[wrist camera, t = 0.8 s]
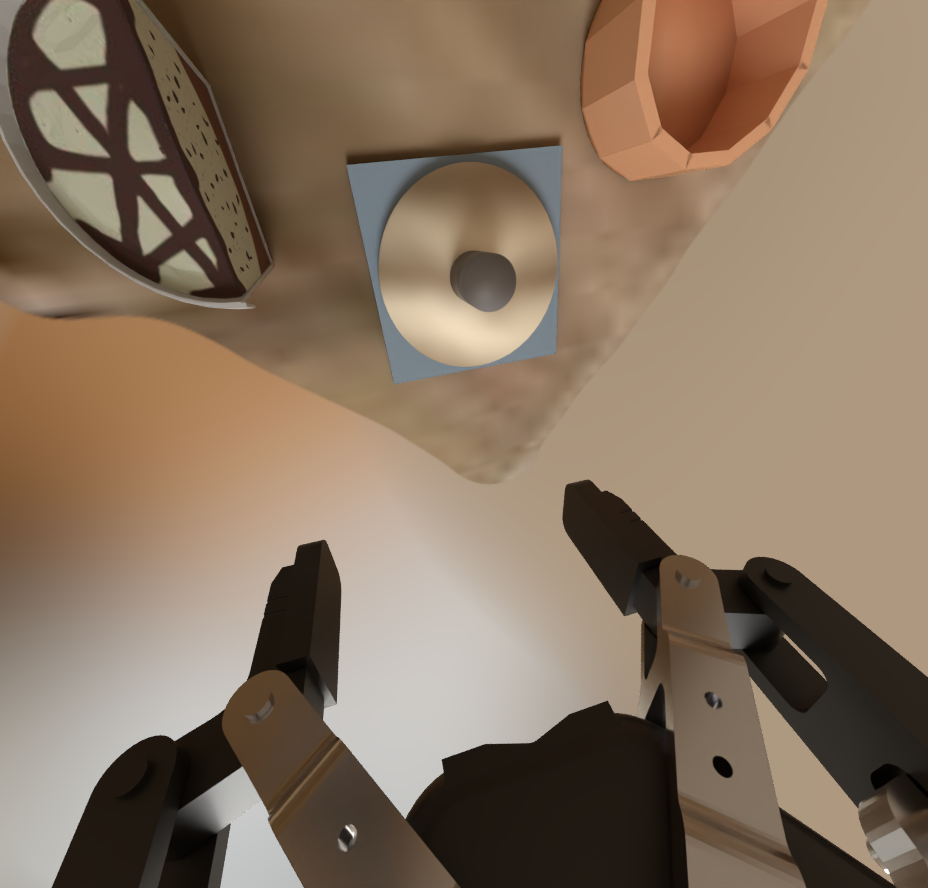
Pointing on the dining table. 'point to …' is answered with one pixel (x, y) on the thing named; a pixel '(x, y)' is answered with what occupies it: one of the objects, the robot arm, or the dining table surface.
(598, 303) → the dining table surface
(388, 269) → the lid
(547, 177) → the mat
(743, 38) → the bowl
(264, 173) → the dining table surface
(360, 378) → the dining table surface
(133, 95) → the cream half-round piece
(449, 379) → the dining table surface
